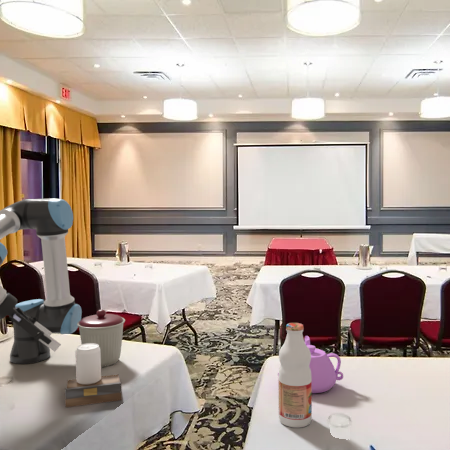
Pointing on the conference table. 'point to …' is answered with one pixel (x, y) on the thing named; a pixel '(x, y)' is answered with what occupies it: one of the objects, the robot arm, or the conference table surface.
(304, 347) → the fruit juice
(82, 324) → the canister
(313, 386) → the teapot
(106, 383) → the shelf board
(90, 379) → the beverage can
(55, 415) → the conference table surface
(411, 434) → the conference table surface
